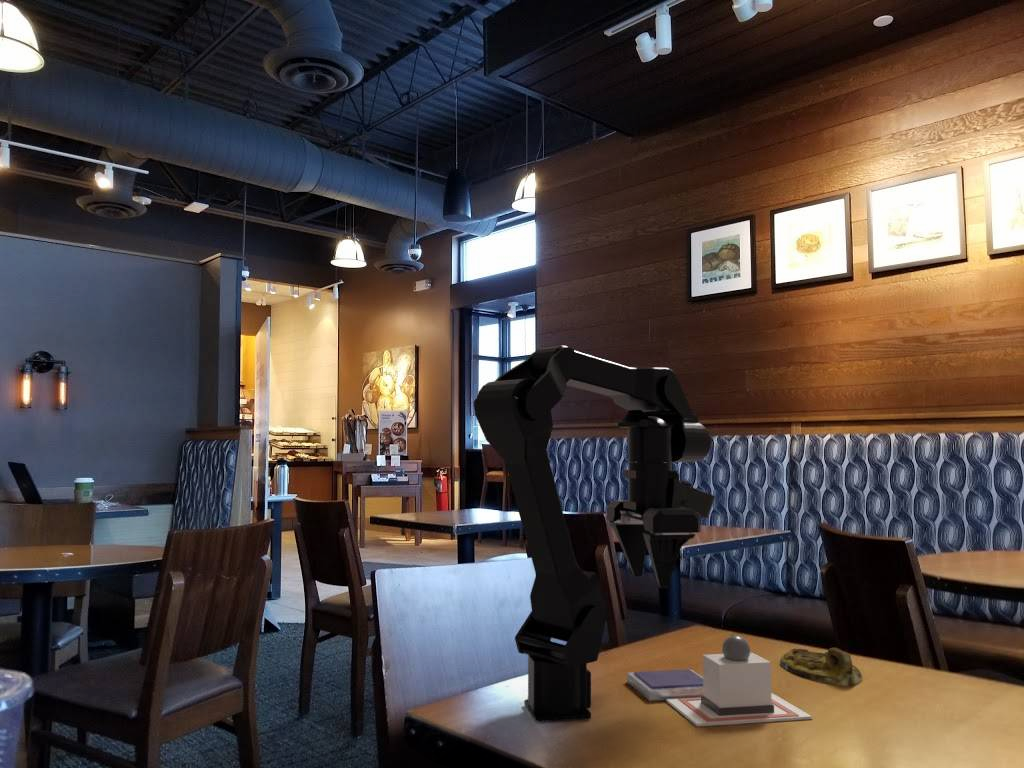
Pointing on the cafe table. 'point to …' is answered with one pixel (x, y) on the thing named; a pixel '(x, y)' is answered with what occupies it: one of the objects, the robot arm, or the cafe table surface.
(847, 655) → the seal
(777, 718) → the sheet
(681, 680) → the ink pad
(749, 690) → the stamp
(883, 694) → the cafe table surface
